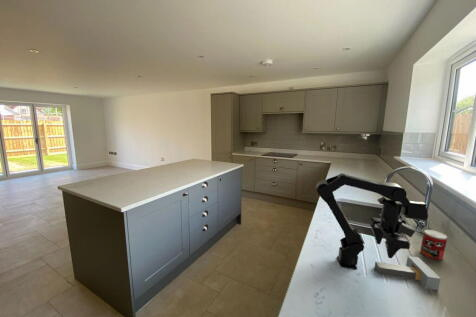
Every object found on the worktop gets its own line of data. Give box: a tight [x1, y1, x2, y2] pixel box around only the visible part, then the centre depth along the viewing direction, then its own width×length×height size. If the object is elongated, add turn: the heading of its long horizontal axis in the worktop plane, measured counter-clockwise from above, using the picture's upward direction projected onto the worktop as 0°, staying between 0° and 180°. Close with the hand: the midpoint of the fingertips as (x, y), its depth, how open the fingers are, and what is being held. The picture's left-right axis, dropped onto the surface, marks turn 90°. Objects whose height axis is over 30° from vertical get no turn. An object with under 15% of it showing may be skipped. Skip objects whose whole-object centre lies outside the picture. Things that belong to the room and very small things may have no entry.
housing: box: [405, 255, 441, 291], centre depth 80 cm, size 4×12×5 cm, turn 168°
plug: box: [374, 261, 421, 281], centre depth 81 cm, size 16×4×3 cm, turn 78°
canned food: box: [420, 229, 448, 261], centre depth 93 cm, size 8×8×11 cm
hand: (383, 250), depth 81 cm, fingers open, 9 cm apart
